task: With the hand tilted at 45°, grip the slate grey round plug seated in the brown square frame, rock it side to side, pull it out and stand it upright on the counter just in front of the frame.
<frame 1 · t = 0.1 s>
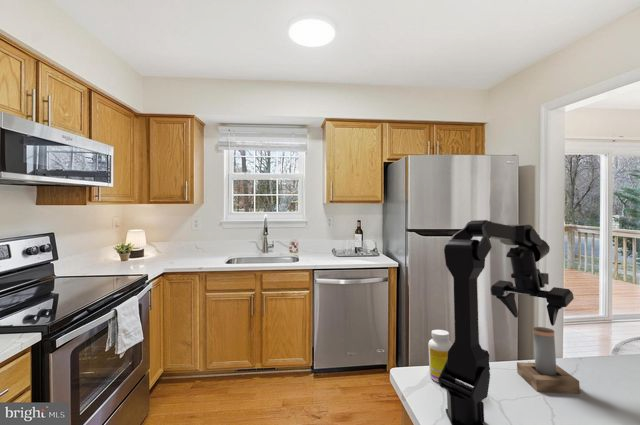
hand: (534, 320, 87), 15 cm above the countertop, tool pointing down, fingers open, 9 cm apart
brown square frame: (546, 382, 83), on the countertop
supplement bottle: (442, 379, 87), on the countertop
plug: (545, 356, 83), in the brown square frame
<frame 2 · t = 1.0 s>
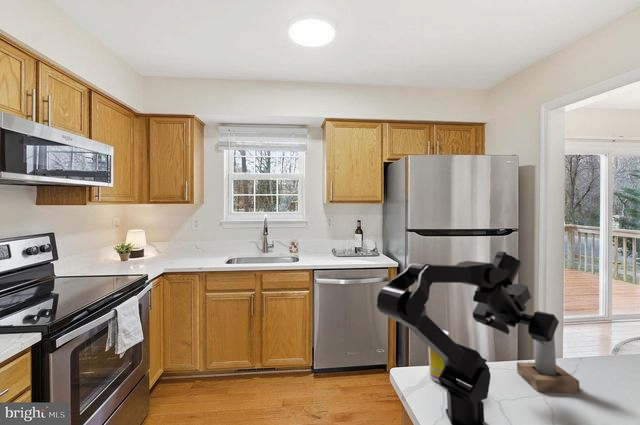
hand: (526, 337, 80), 13 cm above the countertop, tool tilted 45°, fingers open, 9 cm apart
nothing on the countertop moved.
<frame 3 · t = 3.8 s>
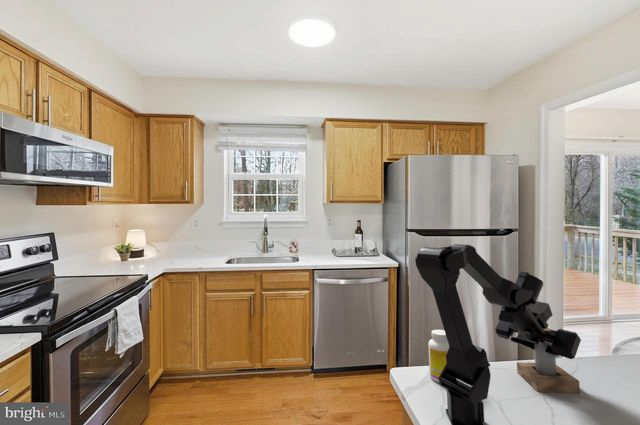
hand: (547, 352, 84), 8 cm above the countertop, tool tilted 45°, fingers closed on plug, 5 cm apart
plug: (544, 355, 83), in the brown square frame, touching gripper
everything else where it was.
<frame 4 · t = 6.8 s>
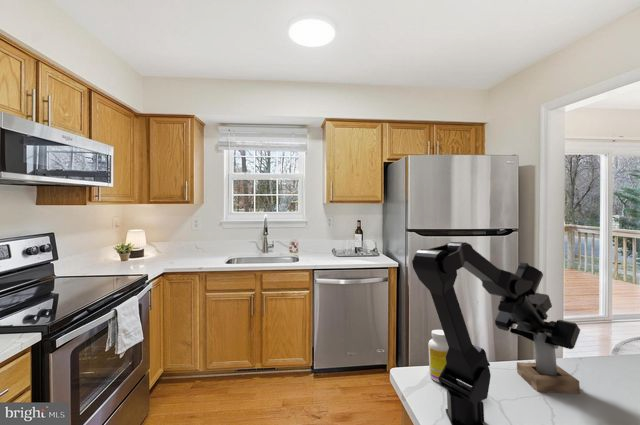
hand: (547, 344, 84), 10 cm above the countertop, tool tilted 45°, fingers closed on plug, 5 cm apart
plug: (544, 349, 83), point 9 cm above the countertop, touching gripper
everything else where it was.
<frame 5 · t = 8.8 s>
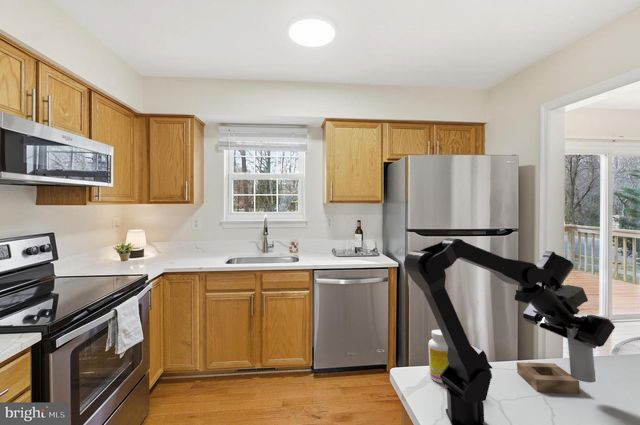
hand: (584, 342, 76), 13 cm above the countertop, tool tilted 45°, fingers closed on plug, 5 cm apart
plug: (580, 348, 75), point 12 cm above the countertop, touching gripper
everything else where it was.
when the fingers open (9 cm above the countertop, at t = 10.1 s): plug stays where it is, on the countertop.
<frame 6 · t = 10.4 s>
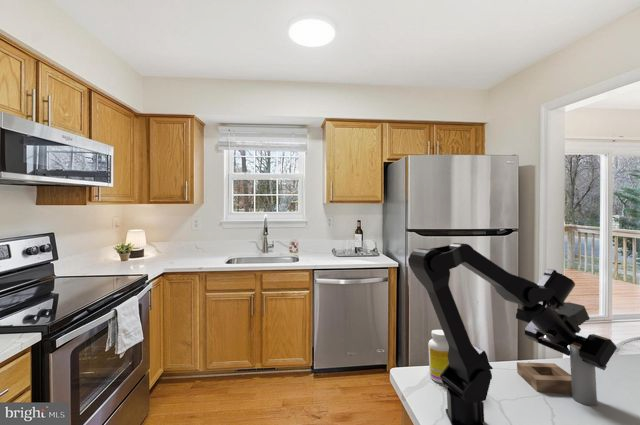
hand: (586, 360, 75), 9 cm above the countertop, tool tilted 45°, fingers open, 8 cm apart
plug: (582, 370, 75), on the countertop
everything else where it was.
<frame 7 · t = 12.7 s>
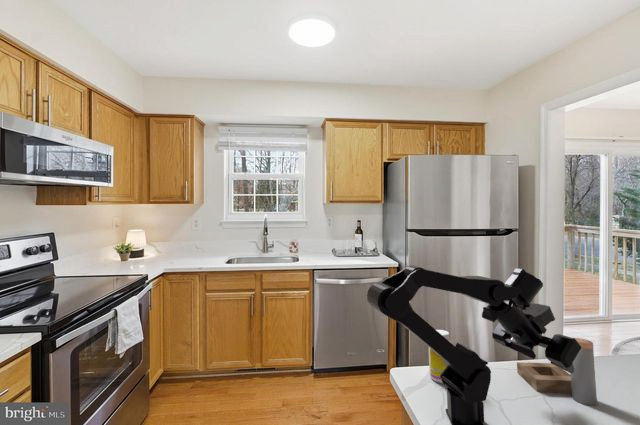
hand: (552, 364, 74), 9 cm above the countertop, tool tilted 40°, fingers open, 9 cm apart
nothing on the countertop moved.
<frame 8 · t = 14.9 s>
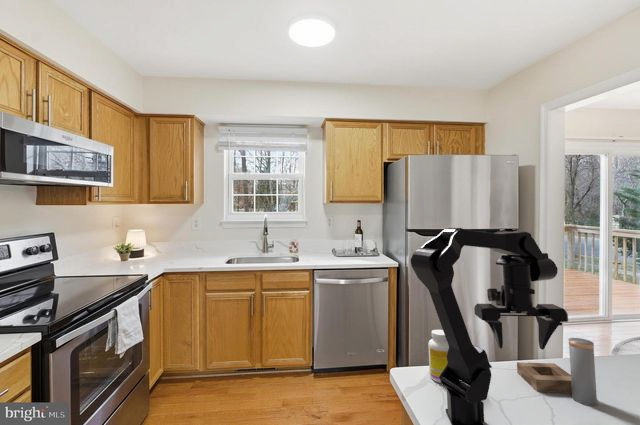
hand: (520, 348, 74), 13 cm above the countertop, tool pointing down, fingers open, 9 cm apart
nothing on the countertop moved.
at the end: plug 0.2 cm from the target spot, on the countertop; plug tilted 0°; the gripper is holding nothing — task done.
